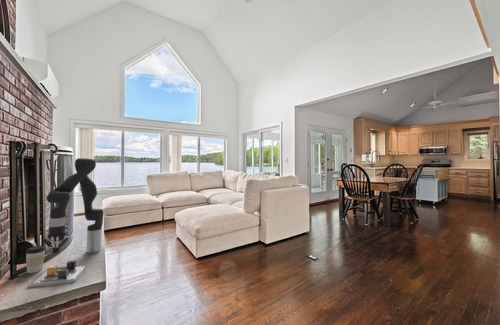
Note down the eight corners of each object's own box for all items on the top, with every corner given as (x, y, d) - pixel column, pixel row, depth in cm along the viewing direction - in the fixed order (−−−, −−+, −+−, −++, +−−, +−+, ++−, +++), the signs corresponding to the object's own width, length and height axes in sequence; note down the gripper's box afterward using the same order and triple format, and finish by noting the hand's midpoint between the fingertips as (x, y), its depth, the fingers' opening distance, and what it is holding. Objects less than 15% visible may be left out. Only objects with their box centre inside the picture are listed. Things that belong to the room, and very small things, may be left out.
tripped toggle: (48, 273, 130) (49, 265, 130) (57, 272, 131) (57, 264, 131) (46, 275, 128) (47, 267, 128) (54, 274, 129) (55, 266, 129)
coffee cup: (46, 269, 139) (48, 246, 139) (27, 275, 131) (28, 251, 131) (41, 265, 143) (42, 243, 143) (22, 271, 135) (23, 247, 135)
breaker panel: (44, 272, 135) (44, 262, 135) (85, 268, 142) (86, 258, 142) (27, 287, 120) (27, 275, 119) (74, 282, 127) (75, 270, 127)
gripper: (73, 222, 136) (71, 249, 135) (46, 223, 131) (45, 251, 131) (68, 225, 128) (66, 254, 128) (39, 227, 124) (38, 257, 124)
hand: (55, 253), depth 130 cm, fingers closed
